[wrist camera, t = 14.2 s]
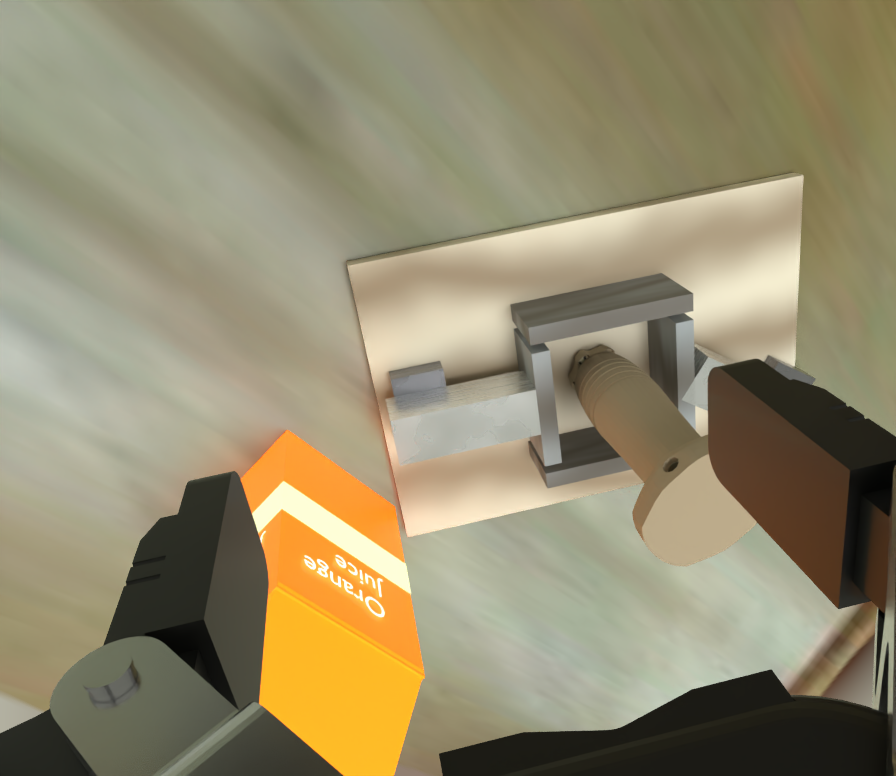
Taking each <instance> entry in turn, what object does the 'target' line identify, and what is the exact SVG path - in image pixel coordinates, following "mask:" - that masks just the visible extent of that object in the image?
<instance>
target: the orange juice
mask: <svg viewBox="0 0 896 776" xmlns="http://www.w3.org/2000/svg"><path fill="white" fill-rule="evenodd" d="M240 480H241V482H242V485H243V488H244V491H245V494H246V497H247V500H248V503H249V506H250V509H251V512H252V515H253V518H254V521H255V524H256V528H257V531H258V534H259V537H260V540H261V543H262V546H263V549H264V553H265V557H266V562H267V568H268V578H269V590H268V602H267V614H266V626H265V638H264V650H263V662H262V675H261V687H260V699H259V704H260V705H262V706H263V707H264V708H266V709H267V710H268V711H269V712H271V713H272V714H273V715H274V716H275V717H276V718H278V719H279V720H280V721H281V722H282V723H283V724H285V725H286V726H287V727H288V728H289V729H290V730H291V731H293V732H294V733H295V734H296V735H297V736H298V737H300V738H301V739H302V740H303V741H304V742H305V743H307V744H308V745H309V746H310V747H311V748H312V749H314V750H315V751H316V752H317V753H318V754H319V755H321V756H322V757H323V758H324V759H325V760H326V761H327V762H329V763H330V764H331V765H332V766H333V767H334V768H336V769H337V770H338V771H339V772H340V773H341V774H343V775H344V776H394V773H395V769H396V766H397V763H398V759H399V756H400V752H401V749H402V745H403V742H404V738H405V735H406V732H407V728H408V725H409V721H410V718H411V714H412V711H413V707H414V704H415V701H416V697H417V694H418V690H419V687H420V683H421V680H422V679H424V678H425V675H424V670H423V664H422V658H421V653H420V647H419V641H418V636H417V630H416V624H415V619H414V613H413V607H412V602H411V596H410V594H411V590H410V585H409V579H408V573H407V568H406V564H405V562H404V556H403V551H402V545H401V539H400V534H399V528H398V522H397V517H396V511H395V506H393V505H392V504H390V503H389V502H388V501H386V500H385V499H383V498H382V497H381V496H379V495H378V494H376V493H375V492H374V491H372V490H371V489H369V488H368V487H367V486H365V485H364V484H362V483H361V482H360V481H358V480H357V479H356V478H354V477H353V476H351V475H350V474H349V473H347V472H346V471H344V470H343V469H342V468H340V467H339V466H337V465H336V464H335V463H333V462H332V461H330V460H329V459H328V458H326V457H325V456H323V455H322V454H321V453H319V452H318V451H316V450H315V449H314V448H312V447H311V446H309V445H308V444H307V443H305V442H304V441H303V440H301V439H300V438H298V437H297V436H296V435H294V434H293V433H291V432H290V431H289V430H286V432H285V433H284V434H283V435H282V436H281V437H280V438H279V439H278V440H277V441H276V442H275V443H274V444H273V445H272V446H271V447H270V449H269V450H268V451H267V452H266V453H265V454H264V455H263V456H262V457H261V458H260V459H259V460H258V461H257V462H256V463H255V465H254V466H253V467H252V468H251V469H250V470H249V471H248V472H247V473H246V474H245V475H244V476H243V477H242V478H241V479H240Z"/></svg>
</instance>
